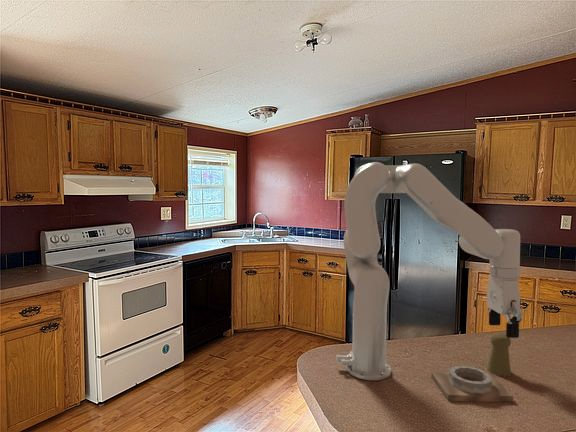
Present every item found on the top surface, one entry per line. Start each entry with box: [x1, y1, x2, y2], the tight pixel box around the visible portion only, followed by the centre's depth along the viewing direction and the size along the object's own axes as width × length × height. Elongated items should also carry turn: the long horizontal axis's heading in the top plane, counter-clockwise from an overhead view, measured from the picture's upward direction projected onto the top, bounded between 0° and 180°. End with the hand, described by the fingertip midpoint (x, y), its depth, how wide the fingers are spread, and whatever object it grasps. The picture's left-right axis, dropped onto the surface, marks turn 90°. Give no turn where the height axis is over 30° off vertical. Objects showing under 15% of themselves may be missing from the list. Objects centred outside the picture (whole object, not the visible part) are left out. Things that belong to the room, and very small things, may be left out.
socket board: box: [431, 365, 514, 403], centre depth 103 cm, size 16×12×4 cm
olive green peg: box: [487, 332, 512, 377], centre depth 113 cm, size 6×6×11 cm
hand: (503, 330), depth 113 cm, fingers open, 9 cm apart
